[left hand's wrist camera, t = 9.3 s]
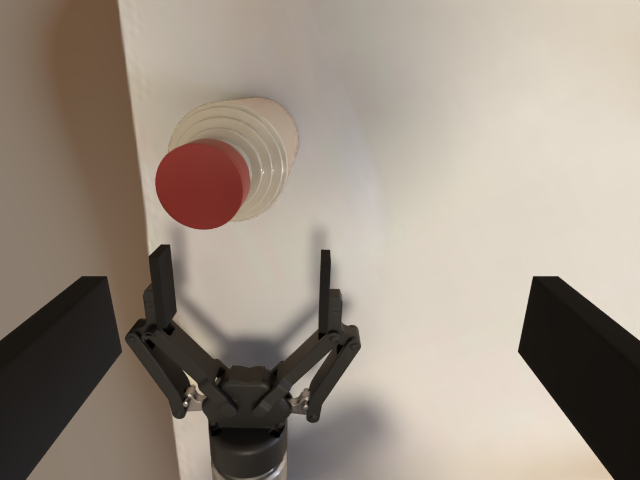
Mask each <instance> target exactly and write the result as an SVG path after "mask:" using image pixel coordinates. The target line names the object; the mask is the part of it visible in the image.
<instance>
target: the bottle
mask: <svg viewBox="0 0 640 480" xmlns="http://www.w3.org/2000/svg"><path fill="white" fill-rule="evenodd" d="M204 138H210V139H216V140H220V141H223V142H225V143H227V144H229V145H230V146H232V147H233V148H234V149H236V150H237V151H238V152H239V153H240V155H241V156H242V157H243V159H244V160H245V162H246V164H247V166H248V169H249V173H250V189H249V193H248V196H247V198H246V200H245V201H244V203H243V204H242V206H241V207H240V209H239V210H238V212H237V213H236V215H235V216H234V217H233V218H232V219H231V220H230V221H228V222H237V221H244V220H248V219H251V218H254V217H257V216H258V215H260V214H262V213H264V212H265V211H266V210H268V209H269V208H270V207H271V206H272V205H273V204H274V203H275V202H276V200H277V199H278V198H279V196H280V194H281V193H282V191H283V188H284V186H285V183H286V180H287V178H288V175H289V172H290V169H291V167H292V164H293V161H294V159H295V156H296V153H297V149H298V131H297V128H296V125H295V122H294V120H293V119H292V117H291V116H290V114H289V113H288V112H287V111H286V110H285V109H284V108H283V107H282V106H281V105H279V104H278V103H276V102H274V101H272V100H269V99H266V98H261V97H253V98H244V99H236V100H228V101H220V102H212V103H208V104H205V105H202V106H200V107H198V108H196V109H194V110H192V111H191V112H189V113H188V114H187V115H186V116H185V117H184V118H183V119H182V120H181V121H180V122H179V124H178V125H177V127H176V128H175V130H174V132H173V134H172V136H171V139H170V143H169V148H168V153H169V152H170V151H172V150H173V149H175V148H177V147H179V146H182V145H184V144H187V143H189V142H192V141H194V140H198V139H204Z"/></svg>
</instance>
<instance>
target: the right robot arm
mask: <svg viewBox="0 0 640 480" xmlns="http://www.w3.org/2000/svg"><path fill="white" fill-rule="evenodd" d="M149 264H150V273H151V281H152V283H151V284H150V285H149V286H148V288H147V289H146V290H145V291H144V295H143V299H144V306H145V315H146V319H139V320H138V321H137V322H136V323H135V325H134V326H133V327H132V329H131V330H130V331H129V332H128V334H127V335H126V337H125V340H126V342H127V344H128V345H129V346H130V348H131V349H132V350H133V352H134V353H135V355H136V356H137V357H138V359H139V360H140V361H141V363H142V364H143V365H144V367H145V368H146V370H147V371H148V372H149V374H150V375H151V376H152V378H153V379H154V380H155V382H156V383H157V385H158V386H159V387H160V389H161V390H162V391H163V393H164V394H165V395H166V397H167V398H168V400H169V403H170V407H171V411H172V414H173V416H174V417H175V418H177V419H182V418H184V417H185V415H186V412H187V411H200V410H203V412H204V414H205V415H206V416H207V418H208V425H209V439H210V452H211V467H212V477H213V480H287V418H288V416H289V415H290V414H291V413H295V414H304V415H307V420H308V421H309V422H311V423H315V422H317V421H318V420H319V417H320V412H321V407H322V404H323V402H324V401H325V399H326V398H327V396H328V395H329V393H330V392H331V391H332V389H333V388H334V386H335V385H336V383H337V382H338V380H339V379H340V377H341V376H342V374H343V373H344V372H345V370H346V369H347V367H348V366H349V364H350V363H351V361H352V360H353V358H354V357H355V355H356V354H357V353H358V351H359V350H360V348H361V343H360V337H359V331H358V328H357V327H356V326H354V325H350V326H347V325H344V324H343V323H342V322H341V316H342V294H341V292H340V289H330V269H331V258H330V250H321V269H320V294H319V329H318V330H317V331H316V332H315V333H314V334H313V335H312V336H310V337H309V338H308V339H307V340H306V341H305V342H304V343H303V344H302V345H301V346H300V347H299V348H298V349H297V350H296V351H295V352H294V353H293V354H291V355H290V356H289V357H288V358H287V359H286V360H285V361H281V362H280V363H279V364H278V365H277V366H276V367H275V368H274V369H273V370H272V371H269V370H266V369H265V367H261V366H256V367H251V368H247V367H243V366H232V368H230V369H228V368H227V367H226V366H225V365H224V364H223V363H222V362H221V361H220V360H218V359H213V358H212V357H211V356H210V355H209V354H208V353H206V352H205V351H204V350H203V349H202V348H201V347H200V346H199V345H198V344H197V343H196V342H195V341H194V340H193V339H192V338H191V337H190V336H189V335H188V334H186V333H185V332H184V331H183V330H182V329H181V328H180V327H179V326H178V325H177V324H176V323H175V322H174V321H173V320H172V318H173V317H174V315H175V314H176V312H177V310H176V300H175V290H174V280H173V270H172V260H171V250H170V245H162V244H161V245H160V246H159V247H158V248H157V249H156V250H155V251H154V252H153V253H152V254H151V255H150V256H149ZM329 351H331V352H330V353H329V355H328V356H327V358H326V359H325V361H324V363H323V364H322V366H321V367H320V369H319V370H318V372H317V373H316V375H315V376H314V378H313V379H312V381H311V384H310V387H309V389H308V388H305V389H304V391H303V392H302V393H301V394H300V396H299V397H297V398H292V395H291V394H290V392H289V391H290V389H291V387H292V385H293V384H295V383H296V382H297V381H298V380H299V379H300V378H301V377H302V376H303V375H304V374H305V373H307V372H308V371H309V370H310V369H311V368H312V367H313V366H314V365H315V364H316V363H317V362H319V361H320V360H321V359H322V358H323V357H324V356H325V355H326V354H327V353H328V352H329ZM181 368H182V369H183V370H184V371H185V372H186V373H187V374H188V375H189V376H190V377H191V378H192V379H194V380H195V381H196V382H197V384H198V388H199V390H200V391H201V392H202V393H203V394H204V395H200V394H198V393H197V391H196V389H195V388H196V386H195V385H190V382H189V380H188V378H187V376H186V374H185V373H184V371H183V370H182V369H181ZM216 377H217V378H218V379H217V380H216V382H215V378H216Z"/></svg>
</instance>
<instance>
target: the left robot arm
mask: <svg viewBox="0 0 640 480" xmlns="http://www.w3.org/2000/svg"><path fill="white" fill-rule="evenodd" d="M121 352H122V349H121V344H120V339H119V334H118V329H117V324H116V319H115V314H114V309H113V304H112V299H111V295H110V289H109V285H108V280H107V276H82V277H81V278H79V279H78V280H77V281H75V282H74V283H73V284H72V285H70V286H69V287H68V288H67V289H65V290H64V291H63V292H62V293H60V294H59V295H58V296H56V297H55V298H54V299H53V300H51V301H50V302H49V303H48V304H46V305H45V306H44V307H42V308H41V309H40V310H39V311H37V312H36V313H35V314H34V315H32V316H31V317H30V318H29V319H27V320H26V321H25V322H23V323H22V324H21V325H20V326H18V327H17V328H16V329H15V330H13V331H12V332H11V333H9V334H8V335H7V336H6V337H4V338H3V339H2V340H1V341H0V480H26V479H27V477H28V476H29V475H30V473H31V472H32V471H33V469H34V468H35V467H36V465H37V464H38V463H39V461H40V460H41V459H42V457H43V456H44V455H45V453H46V452H47V451H48V449H49V448H50V447H51V445H52V444H53V443H54V441H55V440H56V439H57V437H58V436H59V435H60V433H61V432H62V431H63V429H64V428H65V427H66V425H67V424H68V423H69V422H70V420H71V419H72V417H73V416H74V415H75V413H76V412H77V411H78V410H79V408H80V407H81V406H82V404H83V403H84V402H85V400H86V399H87V398H88V396H89V395H90V394H91V392H92V391H93V390H94V388H95V387H96V386H97V384H98V383H99V382H100V380H101V379H102V378H103V376H104V375H105V374H106V372H107V371H108V370H109V368H110V367H111V366H112V364H113V363H114V362H115V360H116V359H117V358H118V356H119V355H120V354H121ZM518 352H519V354H520V355H521V356H522V358H523V359H524V360H525V362H526V363H527V364H528V366H529V367H530V368H531V370H532V371H533V372H534V374H535V375H536V376H537V378H538V379H539V380H540V382H541V383H542V384H543V386H544V387H545V388H546V390H547V391H548V392H549V394H550V395H551V396H552V398H553V399H554V400H555V402H556V403H557V404H558V406H559V407H560V408H561V410H562V411H563V412H564V414H565V415H566V416H567V418H568V419H569V420H570V422H571V423H572V424H573V426H574V427H575V428H576V430H577V431H578V432H579V433H580V435H581V436H582V437H583V439H584V440H585V441H586V443H587V444H588V445H589V447H590V448H591V449H592V451H593V452H594V453H595V455H596V456H597V457H598V459H599V460H600V461H601V463H602V464H603V465H604V467H605V468H606V469H607V471H608V472H609V473H610V475H611V476H612V477H613V479H614V480H640V341H639V340H638V339H637V338H636V337H634V336H633V335H632V334H631V333H629V332H628V331H627V330H625V329H624V328H623V327H622V326H620V325H619V324H618V323H617V322H615V321H614V320H613V319H611V318H610V317H609V316H608V315H606V314H605V313H604V312H603V311H601V310H600V309H599V308H598V307H596V306H595V305H594V304H592V303H591V302H590V301H589V300H587V299H586V298H585V297H584V296H582V295H581V294H580V293H579V292H577V291H576V290H575V289H573V288H572V287H571V286H570V285H568V284H567V283H566V282H565V281H563V280H562V279H561V278H559V277H558V276H533V280H532V284H531V289H530V294H529V299H528V304H527V309H526V314H525V319H524V324H523V329H522V334H521V339H520V344H519V349H518Z"/></svg>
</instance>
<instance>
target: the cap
mask: <svg viewBox="0 0 640 480" xmlns="http://www.w3.org/2000/svg"><path fill="white" fill-rule="evenodd" d="M155 185H156V192H157V195H158V198H159V201H160V203H161V204H162V206H163V208H164V209H165V210H166V212H167V213H168V214H169V215H170V216H171V217H172V218H173V219H175V220H176V221H178V222H179V223H181V224H183V225H185V226H188V227H190V228H194V229H204V230H206V229H213V228H217V227H220V226H222V225H224V224H226V223H227V222H228V221H230V220H231V219H232V218H233V217H234V216H235V215H236V213H237V212H238V210H239V209H240V207H241V206H242V204H243V203H244V201H245V200H246V198H247V196H248V193H249V189H250V173H249V169H248V166H247V164H246V162H245V160H244V159H243V157H242V156H241V155H240V153H239V152H238V151H237V150H236V149H234V148H233V147H232V146H230V145H229V144H227V143H225V142H223V141H220V140H216V139H210V138H204V139H198V140H194V141H192V142H189V143H187V144H184V145H182V146H179V147H177V148H175V149H173V150H172V151H170V152H169V153H168V154H167V155H166V156H165V157H164V158H163V160H162V161H161V163H160V165H159V167H158V169H157V173H156V180H155Z"/></svg>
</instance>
